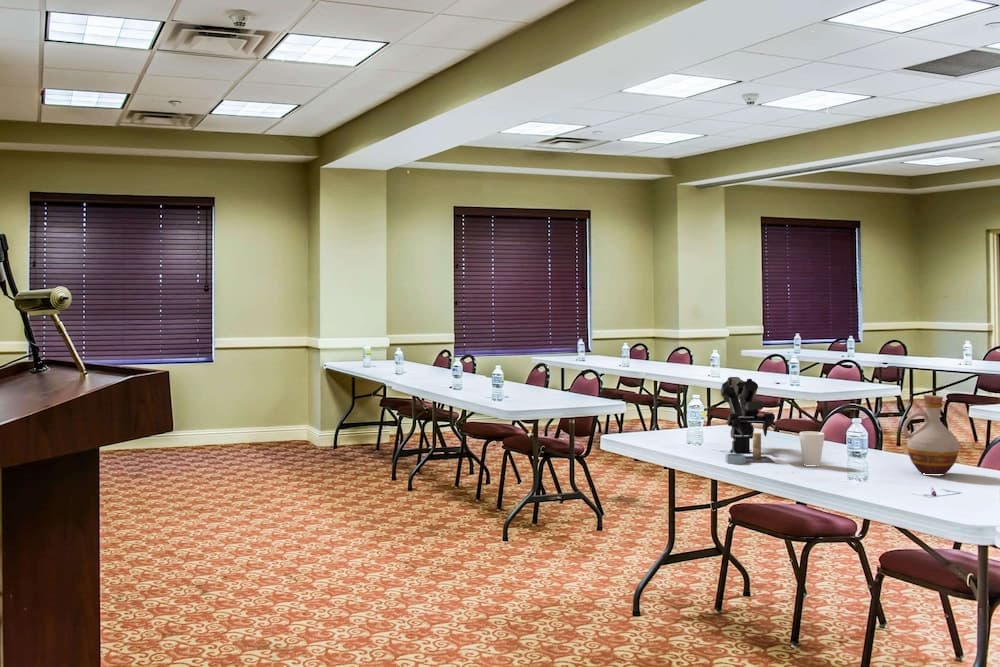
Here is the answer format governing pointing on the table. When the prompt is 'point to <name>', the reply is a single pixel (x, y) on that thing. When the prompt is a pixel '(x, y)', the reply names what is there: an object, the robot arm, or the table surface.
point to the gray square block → (735, 458)
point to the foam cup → (811, 447)
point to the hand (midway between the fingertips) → (754, 435)
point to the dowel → (756, 446)
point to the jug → (931, 440)
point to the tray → (763, 460)
